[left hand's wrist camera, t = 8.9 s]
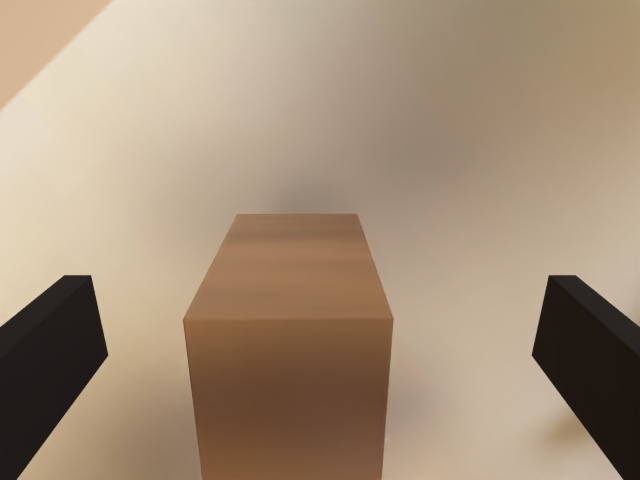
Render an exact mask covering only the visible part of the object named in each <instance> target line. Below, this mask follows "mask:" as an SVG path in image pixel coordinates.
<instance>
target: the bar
mask: <svg viewBox="0 0 640 480" xmlns="http://www.w3.org/2000/svg"><path fill="white" fill-rule="evenodd" d="M183 324H184V332H185V340H186V348H187V357H188V365H189V373H190V381H191V389H192V397H193V405H194V414H195V422H196V430H197V438H198V446H199V454H200V463H201V471H202V479H203V480H382V466H383V453H384V439H385V426H386V412H387V399H388V385H389V371H390V358H391V344H392V331H393V315H392V313H391V310H390V307H389V304H388V301H387V298H386V295H385V293H384V290H383V287H382V284H381V281H380V278H379V276H378V273H377V270H376V267H375V264H374V261H373V258H372V256H371V253H370V250H369V247H368V244H367V241H366V238H365V236H364V233H363V230H362V227H361V224H360V221H359V218H358V216H357V214H237V216H236V218H235V220H234V222H233V224H232V226H231V228H230V230H229V232H228V233H227V235H226V237H225V239H224V241H223V243H222V245H221V247H220V249H219V251H218V253H217V255H216V257H215V259H214V261H213V262H212V264H211V266H210V268H209V270H208V272H207V274H206V276H205V278H204V280H203V282H202V284H201V286H200V288H199V290H198V292H197V293H196V295H195V297H194V299H193V301H192V303H191V305H190V307H189V309H188V311H187V313H186V315H185V317H184V319H183Z"/></svg>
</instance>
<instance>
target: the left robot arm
mask: <svg viewBox="0 0 640 480" xmlns="http://www.w3.org/2000/svg"><path fill="white" fill-rule="evenodd" d="M107 357H108V352H107V347H106V342H105V338H104V333H103V328H102V324H101V319H100V315H99V310H98V305H97V301H96V296H95V291H94V287H93V282H92V277H91V275H64V276H63V277H62V278H60V279H59V280H58V281H57V282H56V283H54V284H53V285H52V286H51V287H49V288H48V289H47V290H46V291H44V292H43V293H42V294H41V295H39V296H38V297H37V298H36V299H35V300H33V301H32V302H31V303H30V304H28V305H27V306H26V307H25V308H23V309H22V310H21V311H20V312H18V313H17V314H16V315H15V316H13V317H12V318H11V319H10V320H9V321H7V322H6V323H5V324H4V325H2V326H1V327H0V480H17V478H18V477H19V476H20V474H21V473H22V472H23V470H24V469H25V468H26V466H27V465H28V464H29V462H30V461H31V460H32V458H33V457H34V455H35V454H36V453H37V451H38V450H39V449H40V447H41V446H42V445H43V443H44V442H45V441H46V439H47V438H48V436H49V435H50V434H51V432H52V431H53V430H54V428H55V427H56V426H57V424H58V423H59V422H60V420H61V419H62V418H63V416H64V415H65V413H66V412H67V411H68V409H69V408H70V407H71V405H72V404H73V403H74V401H75V400H76V399H77V397H78V396H79V394H80V393H81V392H82V390H83V389H84V388H85V386H86V385H87V384H88V382H89V381H90V380H91V378H92V377H93V375H94V374H95V373H96V371H97V370H98V369H99V367H100V366H101V365H102V363H103V362H104V361H105V359H106V358H107ZM532 357H533V358H534V359H535V361H536V362H537V363H538V365H539V366H540V367H541V369H542V370H543V371H544V373H545V374H546V375H547V377H548V378H549V380H550V381H551V382H552V384H553V385H554V386H555V388H556V389H557V390H558V392H559V393H560V394H561V396H562V397H563V399H564V400H565V401H566V403H567V404H568V405H569V407H570V408H571V409H572V411H573V412H574V413H575V415H576V416H577V418H578V419H579V420H580V422H581V423H582V424H583V426H584V427H585V428H586V430H587V431H588V432H589V434H590V435H591V436H592V438H593V439H594V441H595V442H596V443H597V445H598V446H599V447H600V449H601V450H602V451H603V453H604V454H605V455H606V457H607V458H608V460H609V461H610V462H611V464H612V465H613V466H614V468H615V469H616V470H617V472H618V473H619V474H620V476H621V477H622V478H623V480H640V327H639V326H638V325H636V324H635V323H634V322H633V321H631V320H630V319H629V318H628V317H627V316H625V315H624V314H623V313H622V312H620V311H619V310H618V309H617V308H615V307H614V306H613V305H612V304H610V303H609V302H608V301H607V300H605V299H604V298H603V297H602V296H601V295H599V294H598V293H597V292H596V291H594V290H593V289H592V288H591V287H589V286H588V285H587V284H586V283H584V282H583V281H582V280H581V279H580V278H578V277H577V276H576V275H549V277H548V282H547V287H546V291H545V296H544V301H543V305H542V310H541V315H540V319H539V324H538V328H537V333H536V338H535V342H534V347H533V352H532Z"/></svg>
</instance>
